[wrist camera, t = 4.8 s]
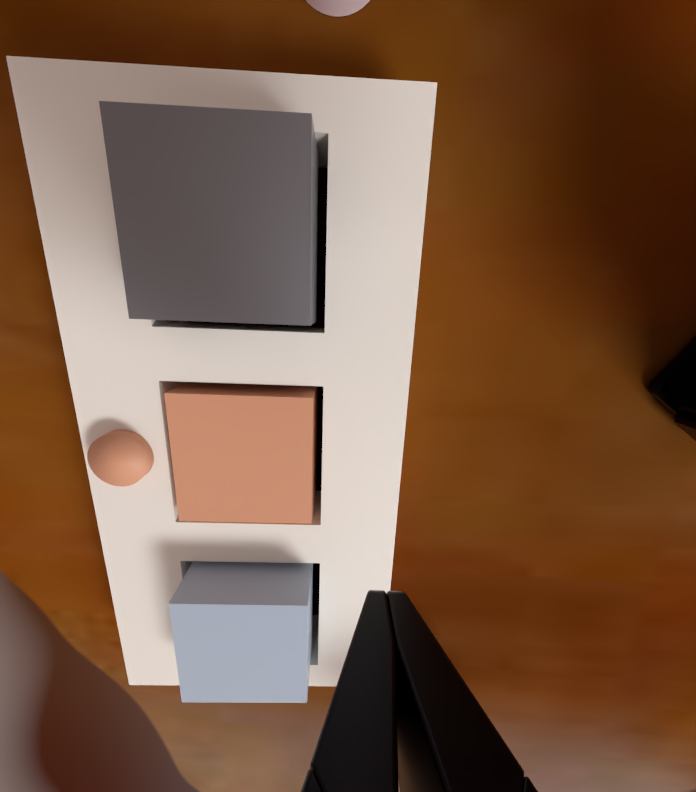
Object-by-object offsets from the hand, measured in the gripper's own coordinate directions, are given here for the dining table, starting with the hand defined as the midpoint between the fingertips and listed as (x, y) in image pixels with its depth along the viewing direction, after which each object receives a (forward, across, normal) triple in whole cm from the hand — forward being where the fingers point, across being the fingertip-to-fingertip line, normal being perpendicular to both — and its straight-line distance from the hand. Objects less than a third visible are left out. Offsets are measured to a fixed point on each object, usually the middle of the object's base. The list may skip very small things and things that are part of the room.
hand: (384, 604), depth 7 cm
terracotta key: (+10, +5, 0) cm, 11 cm away
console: (+10, +6, 0) cm, 12 cm away
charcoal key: (+8, +5, -9) cm, 13 cm away
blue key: (+8, +5, +9) cm, 13 cm away
